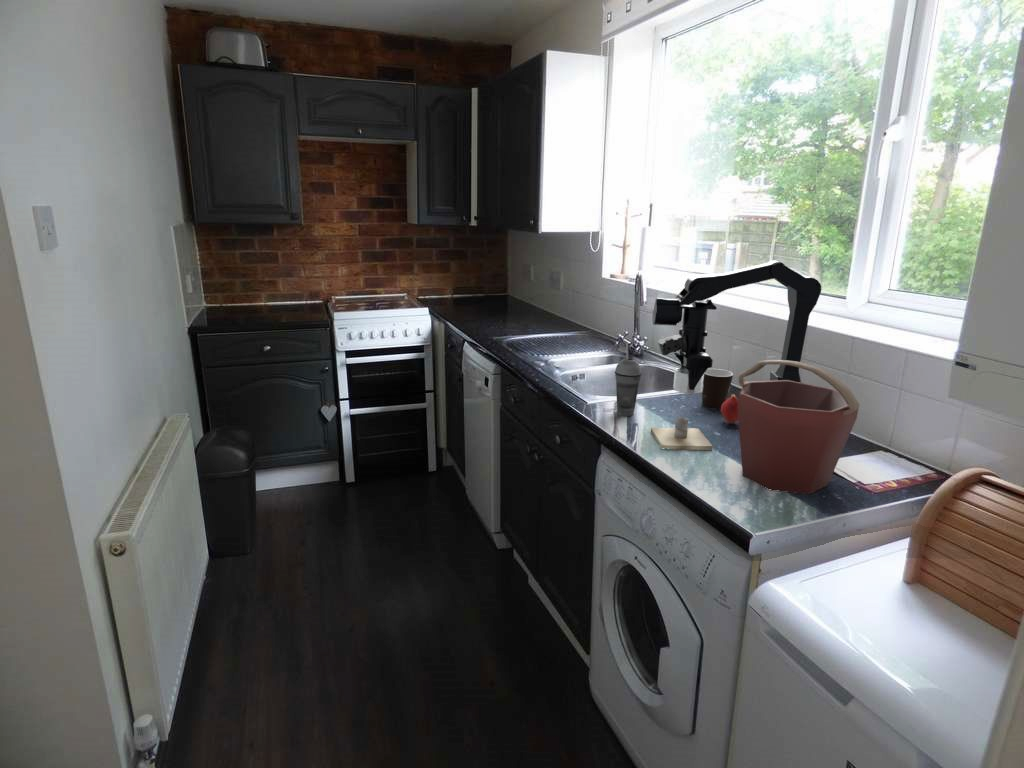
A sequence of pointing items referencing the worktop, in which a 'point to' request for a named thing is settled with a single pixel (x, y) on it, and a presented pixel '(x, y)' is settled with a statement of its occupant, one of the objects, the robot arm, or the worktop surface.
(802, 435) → the bucket
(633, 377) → the beverage cup
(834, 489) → the worktop surface
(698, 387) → the steel ring
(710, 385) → the coffee mug
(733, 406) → the onion
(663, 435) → the post board
